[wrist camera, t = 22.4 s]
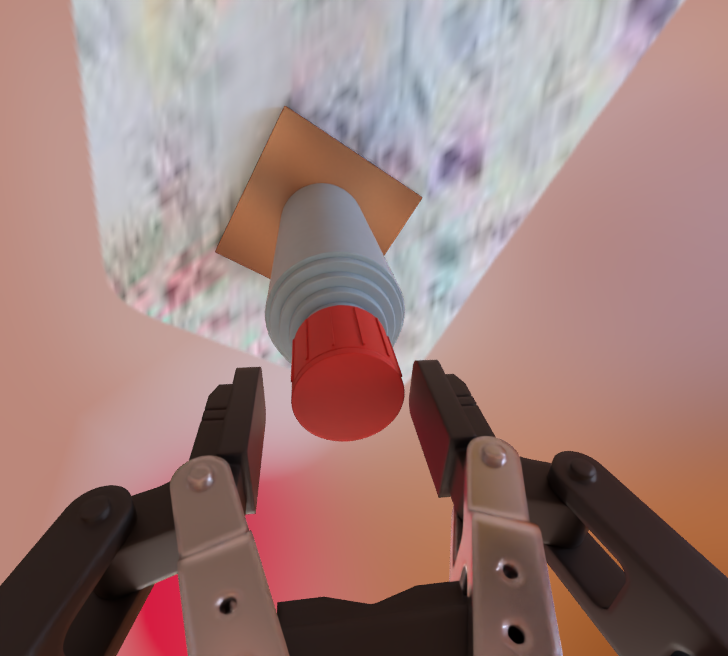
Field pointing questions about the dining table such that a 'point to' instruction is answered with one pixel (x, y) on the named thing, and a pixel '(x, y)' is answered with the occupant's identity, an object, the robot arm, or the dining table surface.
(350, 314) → the cap
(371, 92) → the dining table surface
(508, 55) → the dining table surface
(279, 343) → the bottle
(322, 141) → the coaster
